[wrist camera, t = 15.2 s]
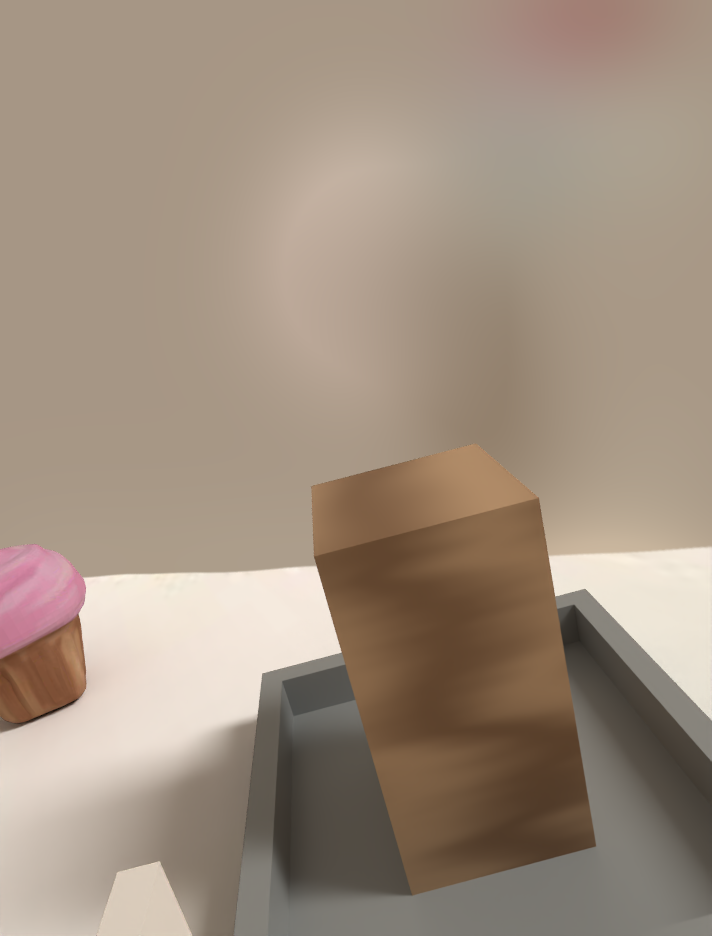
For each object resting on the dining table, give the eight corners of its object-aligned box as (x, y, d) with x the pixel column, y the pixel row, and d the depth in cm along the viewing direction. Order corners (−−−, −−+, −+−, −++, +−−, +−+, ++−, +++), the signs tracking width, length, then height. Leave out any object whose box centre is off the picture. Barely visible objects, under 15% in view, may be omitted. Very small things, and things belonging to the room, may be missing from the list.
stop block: (528, 719, 25) (475, 443, 21) (596, 846, 19) (538, 497, 16) (387, 756, 25) (311, 485, 21) (412, 895, 19) (314, 556, 16)
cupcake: (130, 697, 35) (66, 543, 32) (-36, 780, 32) (-125, 616, 29) (110, 638, 43) (56, 510, 40) (-26, 700, 39) (-95, 564, 37)
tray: (593, 641, 30) (585, 588, 29) (895, 1003, 15) (897, 914, 14) (279, 724, 30) (262, 673, 29) (253, 1178, 14) (215, 1098, 14)
